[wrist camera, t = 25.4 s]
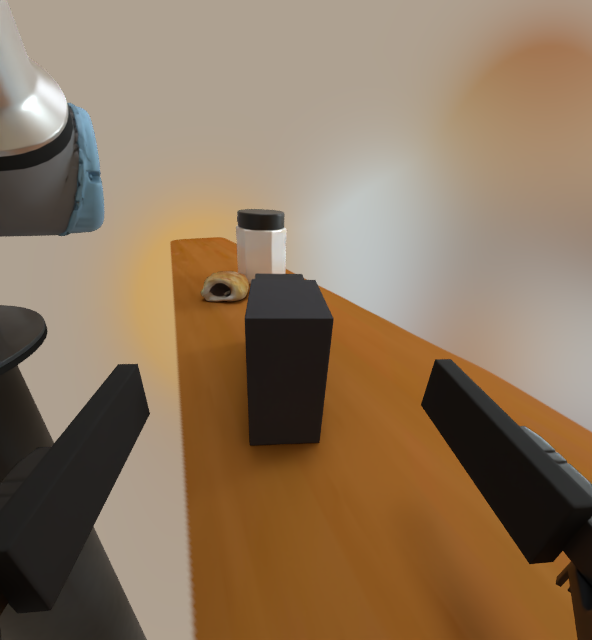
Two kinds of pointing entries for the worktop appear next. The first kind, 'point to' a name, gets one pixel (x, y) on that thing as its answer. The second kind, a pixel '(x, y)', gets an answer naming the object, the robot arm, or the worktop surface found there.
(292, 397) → the block
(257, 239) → the jar
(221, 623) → the worktop surface
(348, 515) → the worktop surface
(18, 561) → the robot arm
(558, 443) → the worktop surface
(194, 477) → the worktop surface
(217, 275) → the pastry
